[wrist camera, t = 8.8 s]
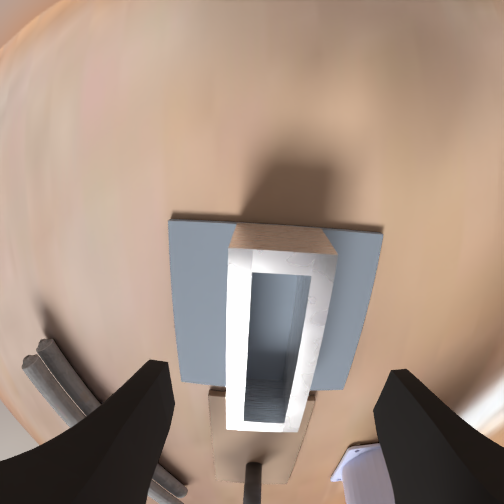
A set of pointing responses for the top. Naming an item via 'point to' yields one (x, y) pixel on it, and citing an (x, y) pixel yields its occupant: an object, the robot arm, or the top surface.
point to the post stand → (253, 450)
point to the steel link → (301, 331)
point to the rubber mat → (263, 305)
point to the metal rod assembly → (83, 406)
